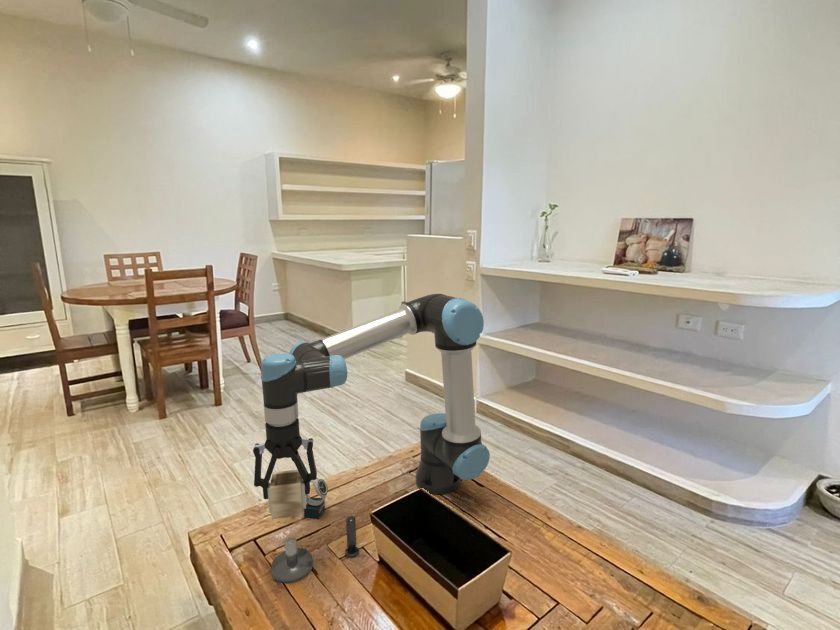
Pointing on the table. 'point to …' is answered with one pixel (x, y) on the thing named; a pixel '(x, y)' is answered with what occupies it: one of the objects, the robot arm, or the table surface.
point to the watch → (316, 500)
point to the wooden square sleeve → (286, 494)
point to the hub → (292, 563)
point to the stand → (351, 537)
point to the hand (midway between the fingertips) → (288, 507)
